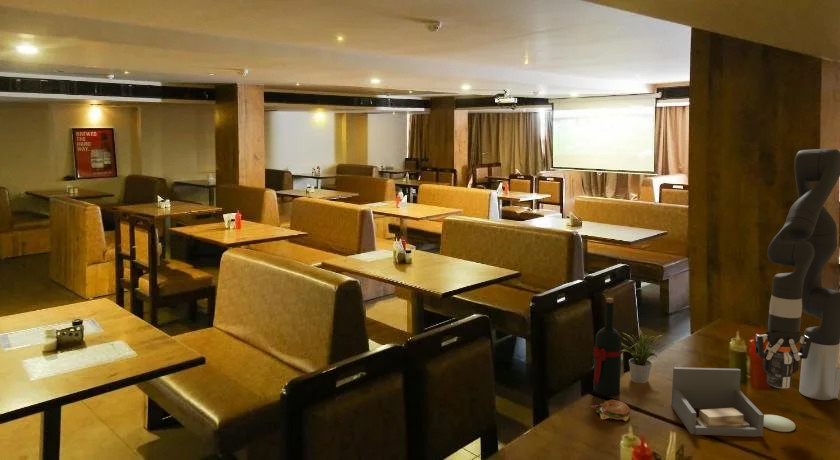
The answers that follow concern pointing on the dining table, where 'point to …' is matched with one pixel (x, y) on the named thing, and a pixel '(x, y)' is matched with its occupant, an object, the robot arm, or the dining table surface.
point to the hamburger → (613, 410)
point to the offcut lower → (701, 423)
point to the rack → (713, 399)
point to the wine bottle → (607, 356)
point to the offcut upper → (721, 416)
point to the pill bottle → (781, 368)
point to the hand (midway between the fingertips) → (779, 371)
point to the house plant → (640, 358)
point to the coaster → (778, 423)
